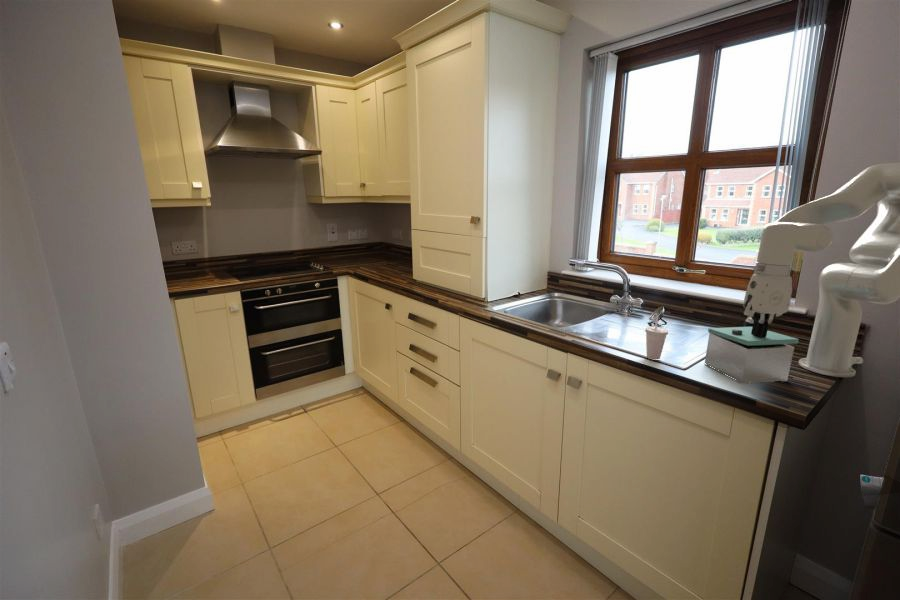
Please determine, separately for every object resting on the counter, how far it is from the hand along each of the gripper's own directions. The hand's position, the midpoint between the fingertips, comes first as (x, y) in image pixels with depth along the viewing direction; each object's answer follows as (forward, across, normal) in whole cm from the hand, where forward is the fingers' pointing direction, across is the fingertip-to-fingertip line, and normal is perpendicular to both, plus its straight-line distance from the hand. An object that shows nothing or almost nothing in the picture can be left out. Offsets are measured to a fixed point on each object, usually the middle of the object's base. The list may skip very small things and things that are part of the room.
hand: (758, 335), depth 114 cm
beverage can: (+12, +15, +16) cm, 25 cm away
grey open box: (+12, +1, +3) cm, 13 cm away
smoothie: (+13, -19, +16) cm, 28 cm away
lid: (+2, +1, +3) cm, 4 cm away
